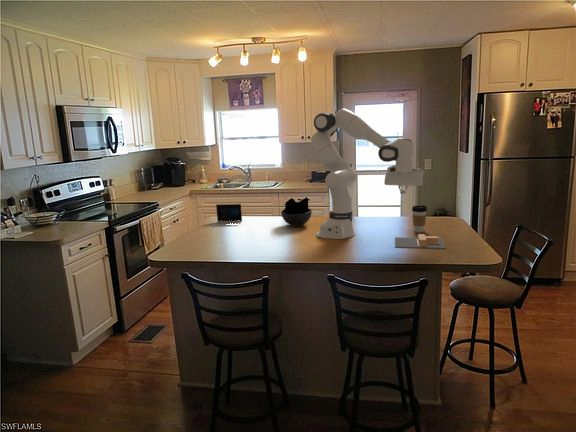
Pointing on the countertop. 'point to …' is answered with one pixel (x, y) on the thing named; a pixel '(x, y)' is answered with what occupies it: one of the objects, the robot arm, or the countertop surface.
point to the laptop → (228, 214)
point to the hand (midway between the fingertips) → (402, 193)
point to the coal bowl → (296, 212)
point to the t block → (427, 239)
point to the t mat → (416, 243)
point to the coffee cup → (419, 217)
